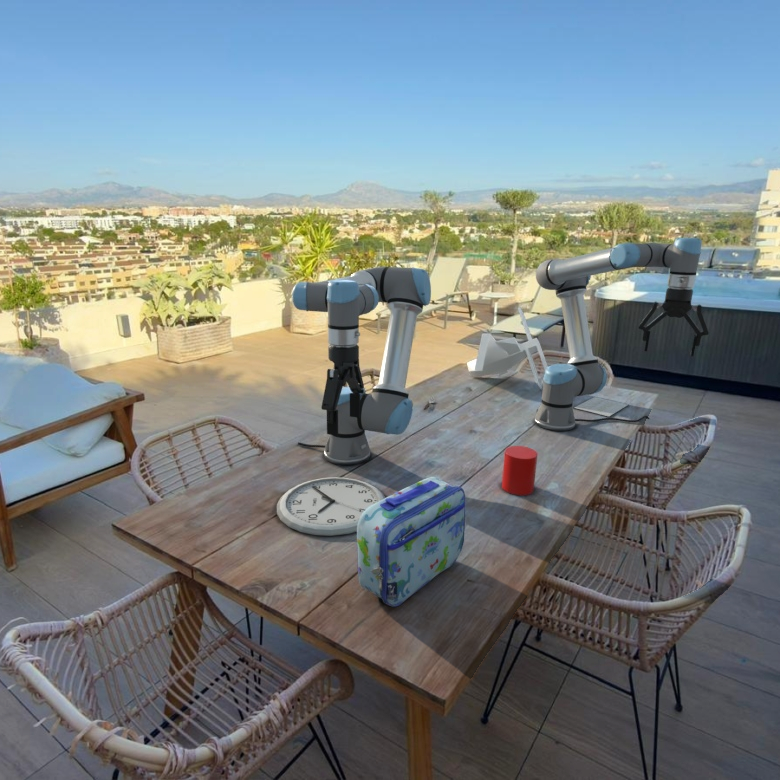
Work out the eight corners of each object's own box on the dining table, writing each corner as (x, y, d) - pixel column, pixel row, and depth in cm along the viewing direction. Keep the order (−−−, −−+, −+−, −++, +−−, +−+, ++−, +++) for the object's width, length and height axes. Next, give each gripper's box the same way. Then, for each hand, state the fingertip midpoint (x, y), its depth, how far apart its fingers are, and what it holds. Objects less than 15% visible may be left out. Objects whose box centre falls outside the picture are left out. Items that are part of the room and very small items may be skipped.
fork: (420, 410, 217) (420, 406, 216) (430, 399, 231) (431, 395, 231) (426, 411, 216) (426, 406, 216) (436, 400, 231) (436, 395, 230)
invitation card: (608, 416, 214) (573, 407, 224) (608, 416, 214) (573, 408, 224) (628, 404, 229) (594, 396, 238) (628, 405, 229) (594, 397, 238)
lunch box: (386, 620, 101) (388, 525, 95) (350, 593, 108) (349, 503, 102) (468, 563, 119) (474, 480, 112) (432, 543, 126) (436, 464, 120)
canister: (495, 485, 155) (498, 450, 152) (516, 478, 160) (520, 443, 157) (518, 498, 148) (522, 461, 145) (540, 490, 153) (544, 454, 150)
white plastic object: (487, 418, 267) (468, 395, 242) (469, 346, 289) (449, 318, 264) (558, 394, 255) (545, 368, 230) (533, 321, 277) (518, 289, 252)
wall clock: (392, 527, 129) (268, 531, 127) (391, 533, 130) (269, 537, 127) (383, 473, 158) (282, 475, 155) (383, 478, 158) (282, 480, 156)
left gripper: (335, 356, 116) (336, 445, 122) (376, 336, 139) (375, 412, 145) (305, 353, 119) (307, 440, 125) (350, 334, 141) (350, 408, 147)
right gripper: (636, 286, 169) (626, 350, 175) (726, 291, 158) (712, 360, 164) (637, 284, 175) (628, 346, 181) (724, 289, 164) (711, 355, 171)
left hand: (344, 425), depth 135 cm, fingers open, 13 cm apart
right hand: (668, 353), depth 173 cm, fingers open, 13 cm apart
